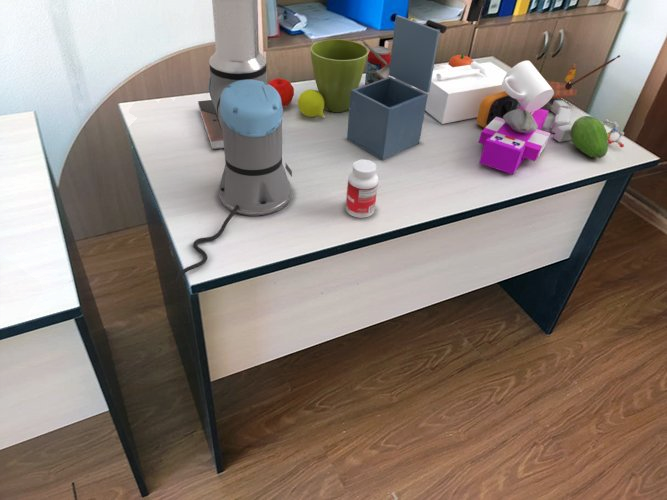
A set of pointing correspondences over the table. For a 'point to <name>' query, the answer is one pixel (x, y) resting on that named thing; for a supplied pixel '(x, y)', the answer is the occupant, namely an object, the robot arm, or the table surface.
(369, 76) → the beverage can
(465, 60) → the pumpkin
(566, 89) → the incense holder
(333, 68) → the flower pot
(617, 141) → the molecular model
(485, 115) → the multimeter
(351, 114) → the blue-grey hollow box
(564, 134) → the grey segmented bar
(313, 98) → the yellow-green teardrop shape
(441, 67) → the geometric ball
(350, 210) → the pill bottle
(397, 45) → the lid
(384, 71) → the wall hook
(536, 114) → the toy
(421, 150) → the table surface
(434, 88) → the tissue box
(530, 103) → the mug
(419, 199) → the table surface
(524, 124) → the grey rock
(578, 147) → the avocado
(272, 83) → the apple
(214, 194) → the table surface
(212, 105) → the picture frame
